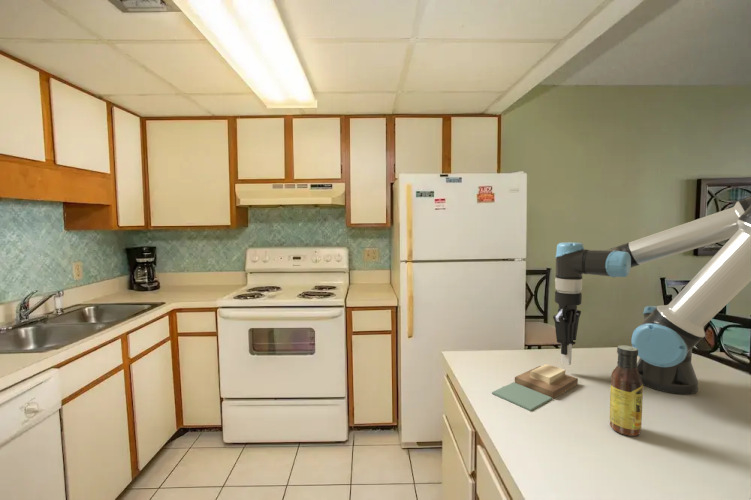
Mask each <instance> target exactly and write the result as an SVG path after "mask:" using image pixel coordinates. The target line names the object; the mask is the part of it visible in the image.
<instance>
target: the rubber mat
mask: <svg viewBox="0 0 751 500" xmlns="http://www.w3.org/2000/svg"><path fill="white" fill-rule="evenodd" d="M491 394H492V395H494V396H495V397H498V398H500V399H503V400H504V401H507V402H508V403H511V404H513V405H516V406H518V407H521V408H522V409H524V410H527V411H529V412H532V411H534V410H536V409H537V408H539V407H541V406H542V405H544V404H546V403H548V402H550V401H551V400H553V399H552V397H549V396H547V395H544V394H542V393H539V392H537V391H534V390H532V389H529V388H527V387H524V386H522V385H519V384H517V383H515V381H514V382H511V383H509V384H507V385H505V386H502V387H500V388H498V389H496V390H493V391H491Z"/></svg>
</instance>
